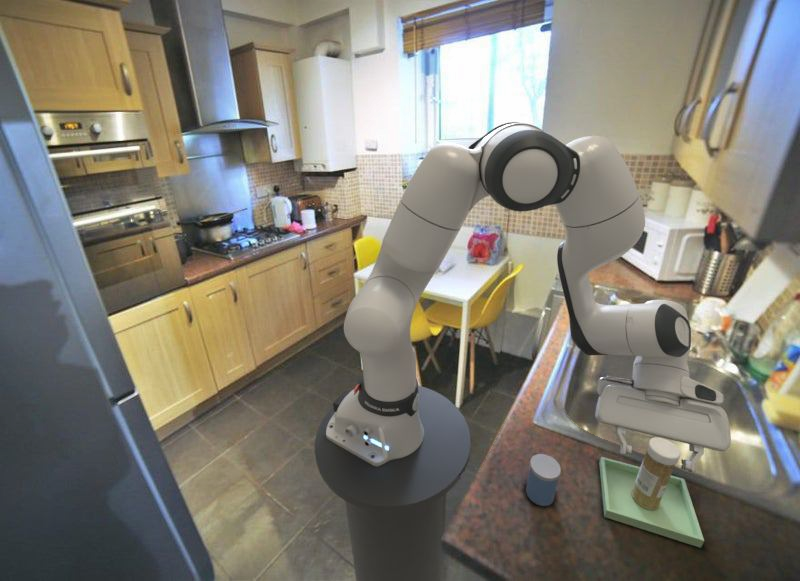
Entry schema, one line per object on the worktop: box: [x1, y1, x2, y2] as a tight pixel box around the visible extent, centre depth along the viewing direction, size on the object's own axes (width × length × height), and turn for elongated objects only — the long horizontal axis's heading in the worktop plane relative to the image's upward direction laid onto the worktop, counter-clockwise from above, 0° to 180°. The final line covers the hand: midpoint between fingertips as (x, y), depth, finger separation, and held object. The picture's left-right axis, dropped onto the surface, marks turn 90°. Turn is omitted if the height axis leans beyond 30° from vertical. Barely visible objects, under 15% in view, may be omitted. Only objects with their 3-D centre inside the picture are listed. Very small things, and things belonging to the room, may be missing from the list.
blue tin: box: [525, 453, 562, 507], centre depth 68 cm, size 5×5×8 cm
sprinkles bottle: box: [631, 436, 681, 510], centre depth 65 cm, size 5×5×13 cm
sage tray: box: [598, 456, 705, 549], centre depth 67 cm, size 14×12×2 cm
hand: (656, 463), depth 65 cm, fingers open, 8 cm apart
